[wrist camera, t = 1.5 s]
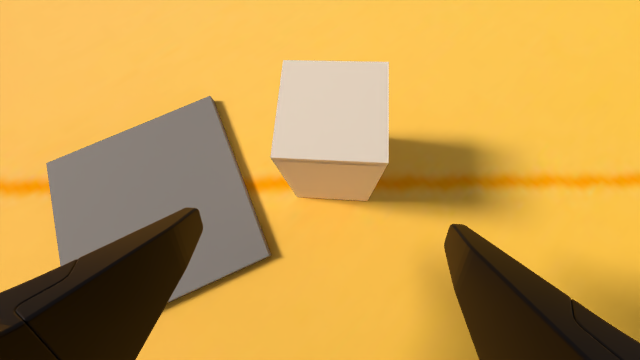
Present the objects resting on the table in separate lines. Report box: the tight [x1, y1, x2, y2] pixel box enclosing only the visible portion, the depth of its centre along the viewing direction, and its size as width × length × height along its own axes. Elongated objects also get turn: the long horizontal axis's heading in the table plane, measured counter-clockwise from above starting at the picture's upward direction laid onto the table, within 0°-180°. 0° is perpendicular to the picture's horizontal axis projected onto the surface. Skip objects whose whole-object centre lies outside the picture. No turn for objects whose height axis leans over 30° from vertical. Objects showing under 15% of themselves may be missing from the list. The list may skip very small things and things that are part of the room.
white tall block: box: [271, 60, 389, 201], centre depth 19 cm, size 6×6×10 cm
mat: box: [46, 96, 271, 303], centre depth 23 cm, size 16×16×1 cm
